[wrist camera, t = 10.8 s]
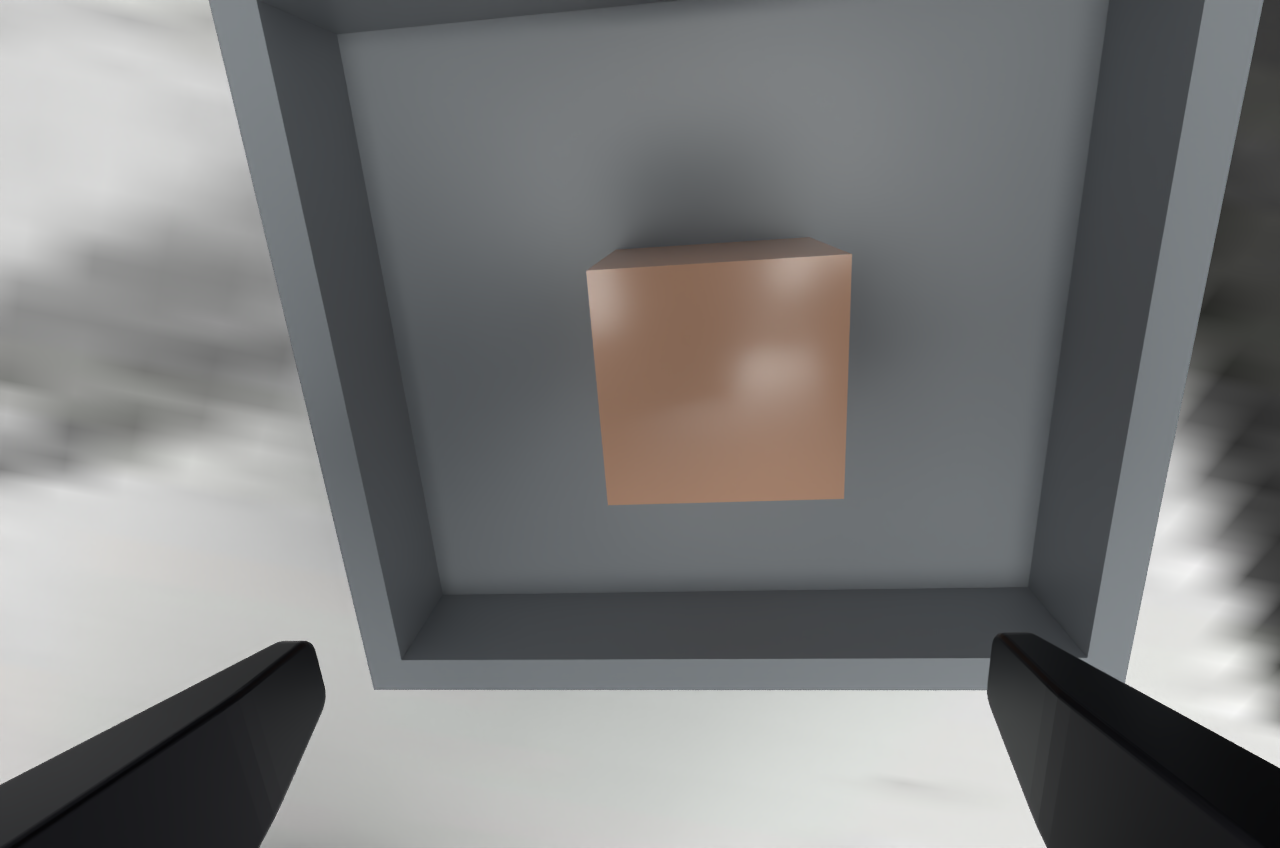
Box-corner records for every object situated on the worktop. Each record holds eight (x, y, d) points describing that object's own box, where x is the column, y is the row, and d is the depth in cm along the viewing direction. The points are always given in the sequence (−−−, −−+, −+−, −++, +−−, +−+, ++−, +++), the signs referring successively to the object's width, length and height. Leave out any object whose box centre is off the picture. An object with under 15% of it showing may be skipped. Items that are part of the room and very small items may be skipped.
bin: (427, 607, 23) (374, 689, 19) (306, 0, 17) (195, -55, 13) (1046, 600, 21) (1123, 690, 17) (1148, -89, 15) (1300, -183, 11)
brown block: (629, 428, 19) (608, 505, 14) (615, 249, 18) (586, 270, 13) (807, 421, 19) (843, 498, 14) (809, 236, 17) (851, 253, 12)
